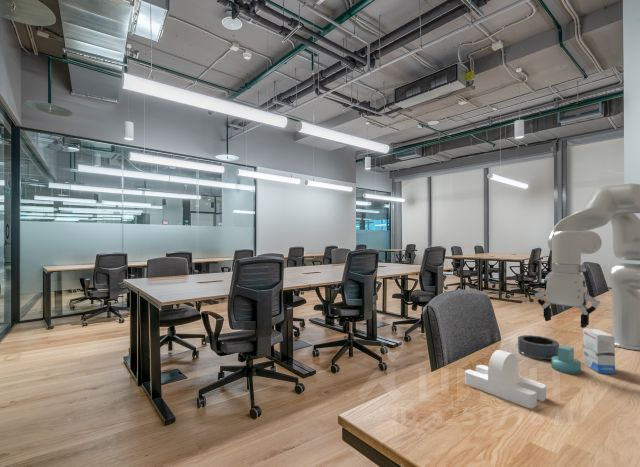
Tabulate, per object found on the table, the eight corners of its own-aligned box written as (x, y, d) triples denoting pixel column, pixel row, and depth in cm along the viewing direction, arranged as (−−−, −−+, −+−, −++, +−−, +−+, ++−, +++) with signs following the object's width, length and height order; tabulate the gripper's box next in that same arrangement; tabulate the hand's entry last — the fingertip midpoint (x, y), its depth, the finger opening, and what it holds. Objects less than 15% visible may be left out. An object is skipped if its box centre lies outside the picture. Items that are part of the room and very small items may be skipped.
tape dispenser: (531, 410, 84) (531, 366, 84) (463, 384, 98) (463, 346, 98) (547, 399, 89) (547, 357, 89) (480, 376, 104) (480, 340, 104)
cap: (556, 363, 114) (556, 342, 114) (584, 370, 108) (584, 348, 108) (547, 368, 109) (547, 346, 109) (576, 376, 103) (576, 353, 103)
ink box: (616, 374, 105) (616, 336, 105) (597, 373, 106) (597, 335, 106) (599, 364, 113) (599, 328, 113) (582, 363, 114) (582, 327, 114)
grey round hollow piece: (526, 346, 131) (526, 333, 131) (563, 355, 121) (563, 341, 121) (512, 353, 123) (512, 339, 123) (550, 363, 114) (550, 348, 114)
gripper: (603, 271, 104) (603, 328, 104) (540, 267, 118) (539, 316, 118) (596, 272, 99) (595, 331, 99) (530, 267, 113) (530, 319, 113)
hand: (565, 323), depth 108 cm, fingers open, 9 cm apart
